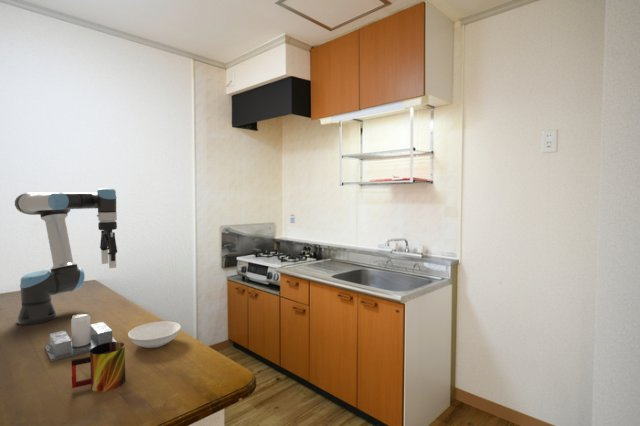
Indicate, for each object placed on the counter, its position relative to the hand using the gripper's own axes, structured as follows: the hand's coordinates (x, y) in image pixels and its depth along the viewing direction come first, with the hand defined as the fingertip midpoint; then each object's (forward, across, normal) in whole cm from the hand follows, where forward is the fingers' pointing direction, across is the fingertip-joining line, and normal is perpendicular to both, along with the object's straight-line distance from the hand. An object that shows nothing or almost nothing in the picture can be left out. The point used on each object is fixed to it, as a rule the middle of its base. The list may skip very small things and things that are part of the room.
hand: (108, 265), depth 168 cm
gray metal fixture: (+28, +21, -15) cm, 38 cm away
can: (+27, +21, -15) cm, 38 cm away
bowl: (+28, +40, +7) cm, 50 cm away
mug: (+28, +61, -17) cm, 69 cm away
